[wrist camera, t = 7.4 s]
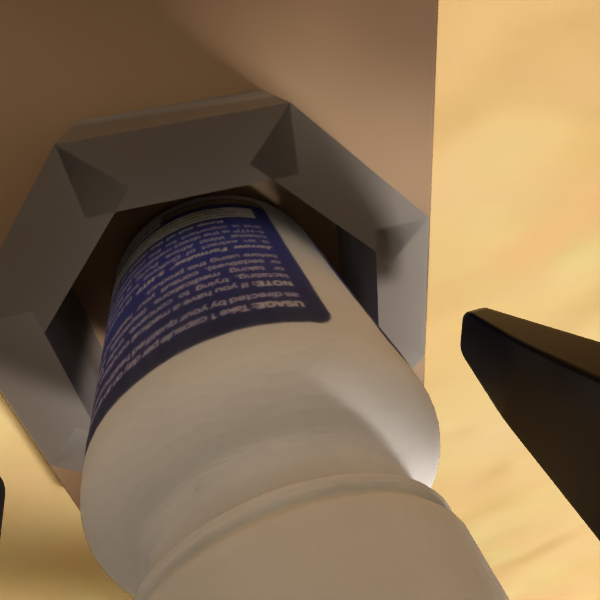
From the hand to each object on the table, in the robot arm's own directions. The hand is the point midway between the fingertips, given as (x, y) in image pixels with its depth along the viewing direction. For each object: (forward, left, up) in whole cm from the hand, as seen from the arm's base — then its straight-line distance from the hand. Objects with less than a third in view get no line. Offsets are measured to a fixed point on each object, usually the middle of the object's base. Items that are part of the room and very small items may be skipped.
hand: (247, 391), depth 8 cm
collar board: (0, 0, -5) cm, 5 cm away
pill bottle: (0, 0, -4) cm, 4 cm away
